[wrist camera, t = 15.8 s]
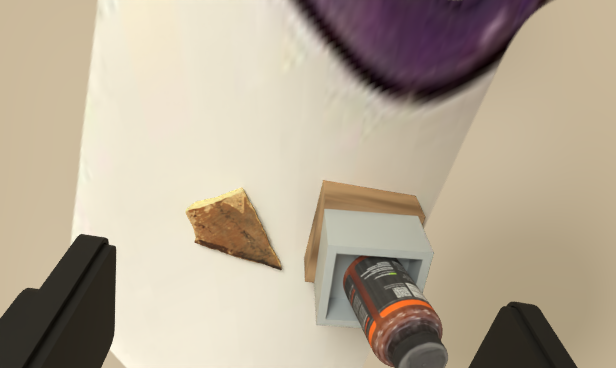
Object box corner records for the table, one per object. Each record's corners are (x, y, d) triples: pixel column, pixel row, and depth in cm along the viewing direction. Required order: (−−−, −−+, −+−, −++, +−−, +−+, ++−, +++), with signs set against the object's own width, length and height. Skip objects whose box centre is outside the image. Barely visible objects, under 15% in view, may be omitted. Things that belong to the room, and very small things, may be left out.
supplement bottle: (357, 310, 45) (402, 407, 35) (330, 269, 43) (371, 363, 33) (409, 279, 45) (470, 368, 35) (386, 236, 42) (445, 320, 32)
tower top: (324, 208, 45) (328, 245, 39) (417, 216, 45) (433, 252, 40) (314, 283, 49) (316, 325, 44) (399, 289, 50) (411, 331, 44)
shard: (282, 261, 53) (282, 271, 52) (221, 280, 54) (218, 290, 53) (246, 183, 48) (244, 191, 47) (179, 205, 49) (175, 213, 48)
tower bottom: (323, 178, 48) (325, 200, 44) (414, 194, 49) (425, 217, 45) (304, 255, 53) (304, 281, 49) (388, 268, 54) (395, 294, 50)
